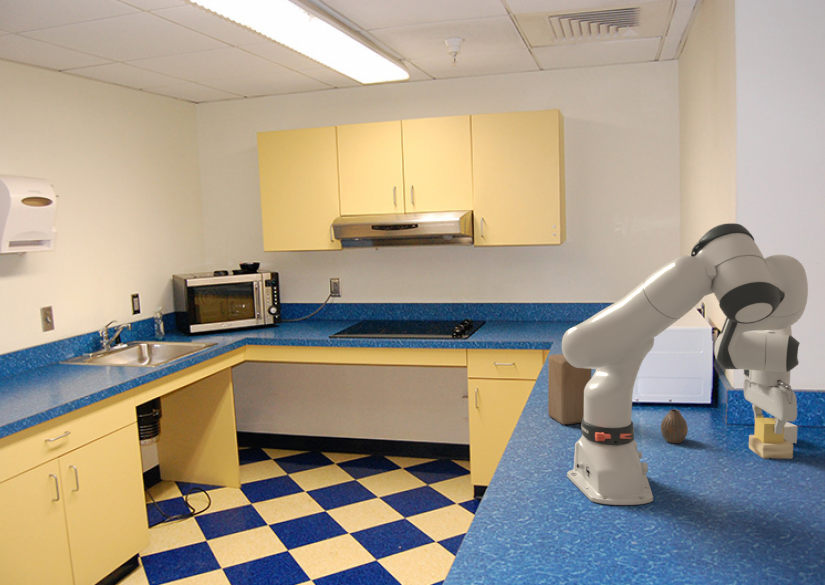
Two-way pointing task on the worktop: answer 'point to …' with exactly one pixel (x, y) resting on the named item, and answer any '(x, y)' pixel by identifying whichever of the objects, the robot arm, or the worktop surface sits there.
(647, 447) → the worktop surface
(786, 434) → the grey cube
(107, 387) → the worktop surface
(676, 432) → the vase
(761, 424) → the ochre cube
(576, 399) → the block
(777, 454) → the maple base
